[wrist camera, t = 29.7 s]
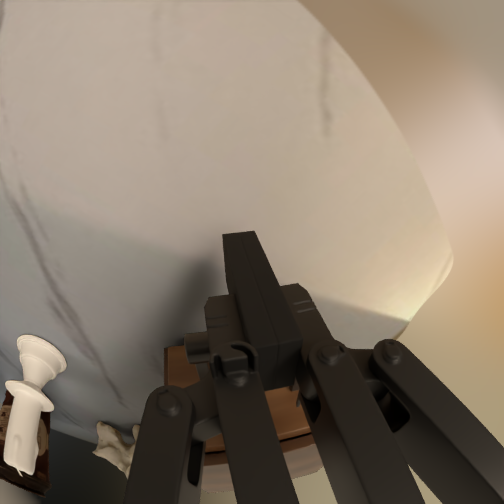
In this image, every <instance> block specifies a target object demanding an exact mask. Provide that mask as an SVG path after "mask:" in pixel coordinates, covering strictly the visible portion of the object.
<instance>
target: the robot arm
mask: <svg viewBox="0 0 504 504" xmlns="http://www.w3.org/2000/svg"><path fill="white" fill-rule="evenodd" d="M222 237H223V250H224V262H225V273H226V283H227V287H228V292H229V295H222V296H214V297H209V298H208V300H207V302H206V304H205V307H204V309H205V318H206V326H207V334H208V342H209V350H210V356H209V366H210V370H209V372H208V373H207V375H206V376H205V377H204V378H203V379H202V380H200V381H198V382H197V383H195V384H192V385H190V386H188V387H185V388H181V387H178V386H174V385H164V386H162V387H159V388H157V389H155V390H154V391H153V392H152V393H151V394H150V395H149V397H148V399H147V402H146V405H145V409H144V413H143V417H142V421H141V424H140V428H139V432H138V436H137V441H136V445H135V449H134V453H133V458H132V462H131V467H130V471H129V476H128V481H127V486H126V492H125V497H124V502H123V504H199V502H200V493H201V484H202V475H203V466H204V458H205V449H206V441H207V440H208V439H210V438H212V437H214V436H217V435H219V434H221V433H222V436H223V441H224V446H225V451H226V456H227V461H228V465H229V470H230V474H231V479H232V483H233V488H234V492H235V496H236V500H237V504H299V501H298V498H297V495H296V492H295V489H294V486H293V483H292V480H291V477H290V474H289V470H288V467H287V464H286V461H285V458H284V455H283V452H282V448H281V445H280V442H279V439H278V435H277V432H276V429H275V425H274V422H273V419H272V416H271V412H270V409H269V405H268V402H267V399H266V395H265V392H264V391H269V390H274V389H279V388H283V387H288V386H292V385H294V383H295V378H296V380H297V383H298V385H299V388H300V389H299V392H298V396H297V400H296V408H297V407H299V406H300V403H301V406H302V408H303V411H304V414H305V417H306V419H307V422H308V425H309V427H310V430H311V433H312V436H313V438H314V441H315V444H316V447H317V449H318V452H319V455H320V457H321V460H322V463H323V466H324V468H325V471H326V474H327V476H328V479H329V482H330V484H331V487H332V490H333V492H334V495H335V498H336V500H337V503H338V504H425V502H424V499H423V497H422V495H421V492H420V490H419V488H418V486H417V484H416V482H415V479H414V477H413V475H412V473H411V471H410V469H409V466H410V467H411V468H412V469H413V471H414V472H415V473H416V474H417V475H418V476H419V478H420V479H421V480H422V481H423V482H424V483H425V484H426V485H427V487H428V488H429V489H430V490H431V491H432V492H433V493H434V495H436V497H437V498H438V499H439V500H440V501H441V502H442V504H504V448H503V446H502V445H501V444H500V443H499V442H498V441H497V439H496V438H495V437H494V436H493V435H492V434H491V433H490V432H489V431H488V430H487V429H486V427H484V425H483V424H482V423H481V422H480V421H479V420H478V419H477V418H476V417H475V416H474V415H473V414H472V413H471V412H470V410H469V409H468V408H467V407H466V406H465V405H464V404H463V403H462V402H461V401H460V400H459V399H458V398H457V397H456V396H455V395H454V394H453V393H452V392H451V391H450V390H449V389H448V388H447V387H446V386H445V385H444V384H443V383H442V382H441V381H440V380H439V379H438V378H437V377H436V376H435V375H434V374H433V373H432V372H431V371H430V370H429V369H428V368H427V367H426V366H425V365H424V364H423V363H422V362H421V361H420V360H419V359H418V358H417V357H416V356H415V355H414V354H413V353H412V352H411V351H410V350H409V349H408V348H407V347H405V346H404V345H403V344H402V343H400V342H399V341H396V340H393V339H384V340H382V341H379V342H378V343H377V344H376V345H375V347H374V349H350V348H347V347H346V346H345V345H344V344H342V343H341V342H339V341H337V340H334V338H333V337H332V335H331V333H330V331H329V330H328V328H327V326H326V324H325V322H324V320H323V319H322V317H321V315H320V313H319V311H318V309H316V306H315V304H314V302H312V299H311V297H310V295H309V293H308V291H307V290H306V289H304V288H303V287H302V286H300V285H299V284H298V283H296V284H290V285H284V286H280V285H279V283H278V281H277V279H276V277H275V274H274V272H273V270H272V268H271V266H270V263H269V261H268V259H267V257H266V255H265V253H264V250H263V248H262V246H261V244H260V242H259V240H258V237H257V235H256V233H255V231H247V232H239V233H230V234H222ZM408 465H409V466H408Z"/></svg>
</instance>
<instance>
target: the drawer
mask: <svg viewBox="0 0 504 504" xmlns="http://www.w3.org/2000/svg"><path fill="white" fill-rule="evenodd" d="M209 356H210V350H209V342H208V334H207V331H206V332H198V333H189V334H185V336H184V345H182V346H173V347H168V383H169V385H174V386H178V387H181V388H185V387H188V386H190V385H192V384H195V383H197V382H198V381H200V380H202V379H203V378H204V377H205V376H206V375H207V373H208V372H209V370H210V366H209ZM299 389H300V388H299V385H298V383H297V380H296V378H295V383H294V385H292V386H288V387H283V388H279V389H274V390H269V391H264V392H265V395H266V399H267V402H268V405H269V409H270V412H271V416H272V419H273V422H274V425H275V429H276V432H277V435H278V439H279V442H283V441H288V440H292V439H295V438H299V437H303V436H306V435H310V434H312V433H311V430H310V427H309V425H308V422H307V419H306V417H305V414H304V411H303V408H302V406H301V403H300V406H299V407H297V408H296V400H297V396H298V392H299ZM223 452H226V451H225V446H224V441H223V436H222V433H221V434H219V435H217V436H214V437H212V438H210V439H208V440H207V441H206V449H205V454H215V453H223Z"/></svg>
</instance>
